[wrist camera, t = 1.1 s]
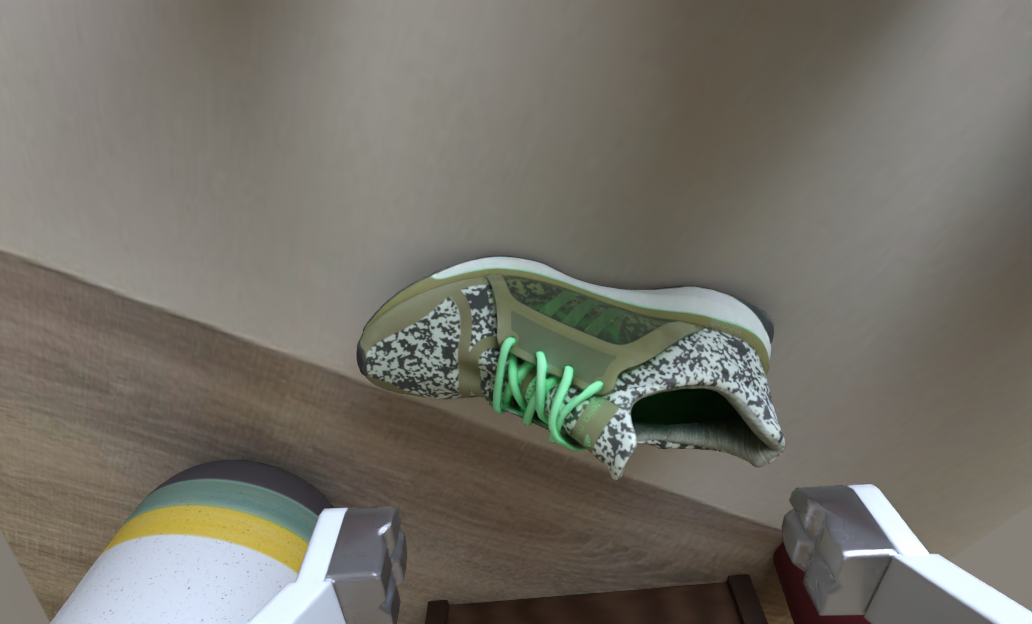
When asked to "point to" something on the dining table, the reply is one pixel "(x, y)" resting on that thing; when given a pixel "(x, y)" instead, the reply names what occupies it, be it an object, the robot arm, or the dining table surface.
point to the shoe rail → (617, 607)
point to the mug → (804, 595)
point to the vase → (202, 549)
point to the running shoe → (583, 358)
